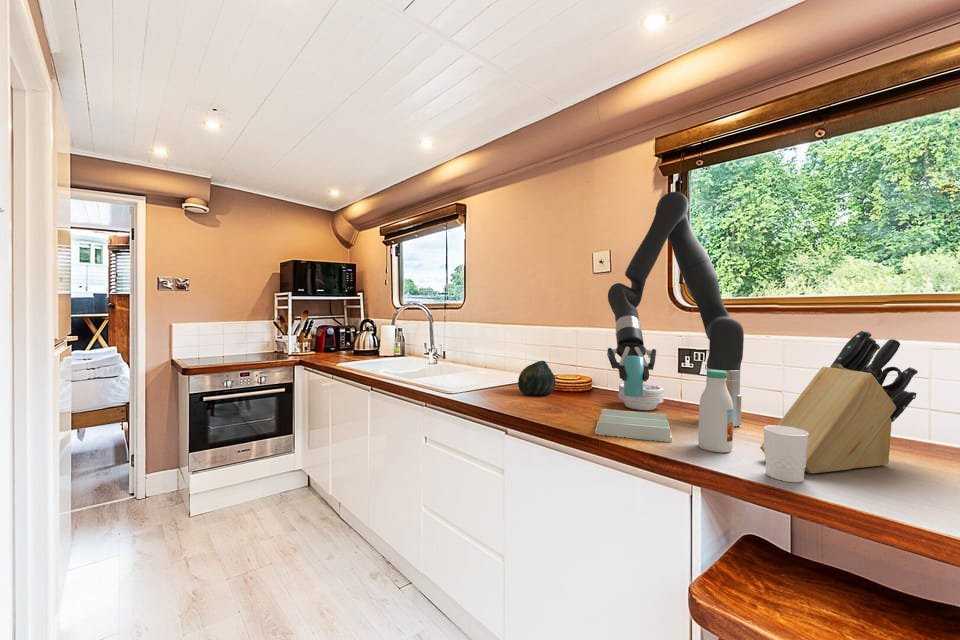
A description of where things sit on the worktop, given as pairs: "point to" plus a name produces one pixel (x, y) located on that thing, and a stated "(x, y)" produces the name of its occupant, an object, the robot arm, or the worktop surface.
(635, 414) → the rack
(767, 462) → the white cup
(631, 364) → the teal rounded upright block
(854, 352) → the knife block
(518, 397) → the worktop surface
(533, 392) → the squash
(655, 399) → the paper bowls
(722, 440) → the milk bottle
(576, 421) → the worktop surface
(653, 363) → the robot arm
